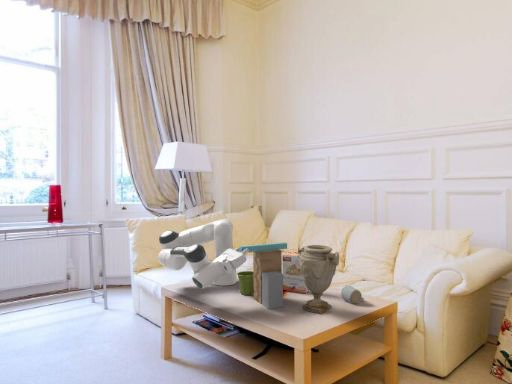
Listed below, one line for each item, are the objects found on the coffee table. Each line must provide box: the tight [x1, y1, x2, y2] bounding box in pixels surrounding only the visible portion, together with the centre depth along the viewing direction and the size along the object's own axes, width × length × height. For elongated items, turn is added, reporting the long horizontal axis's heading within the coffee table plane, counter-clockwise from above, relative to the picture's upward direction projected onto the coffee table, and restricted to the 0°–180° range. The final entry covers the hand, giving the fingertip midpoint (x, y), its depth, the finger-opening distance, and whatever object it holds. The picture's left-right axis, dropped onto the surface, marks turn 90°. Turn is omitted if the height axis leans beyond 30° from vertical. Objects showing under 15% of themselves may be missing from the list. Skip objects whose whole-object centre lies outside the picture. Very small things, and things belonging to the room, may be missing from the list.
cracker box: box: [282, 252, 310, 294], centre depth 206 cm, size 14×6×21 cm, turn 62°
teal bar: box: [238, 242, 288, 253], centre depth 190 cm, size 3×26×3 cm, turn 114°
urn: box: [297, 244, 340, 315], centre depth 175 cm, size 24×18×30 cm
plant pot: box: [236, 270, 254, 296], centre depth 203 cm, size 12×12×11 cm
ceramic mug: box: [340, 284, 365, 305], centre depth 186 cm, size 11×8×8 cm
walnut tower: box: [252, 249, 283, 305], centre depth 191 cm, size 9×12×26 cm
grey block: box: [261, 271, 284, 310], centre depth 182 cm, size 7×8×16 cm
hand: (245, 248), depth 186 cm, fingers open, 5 cm apart
